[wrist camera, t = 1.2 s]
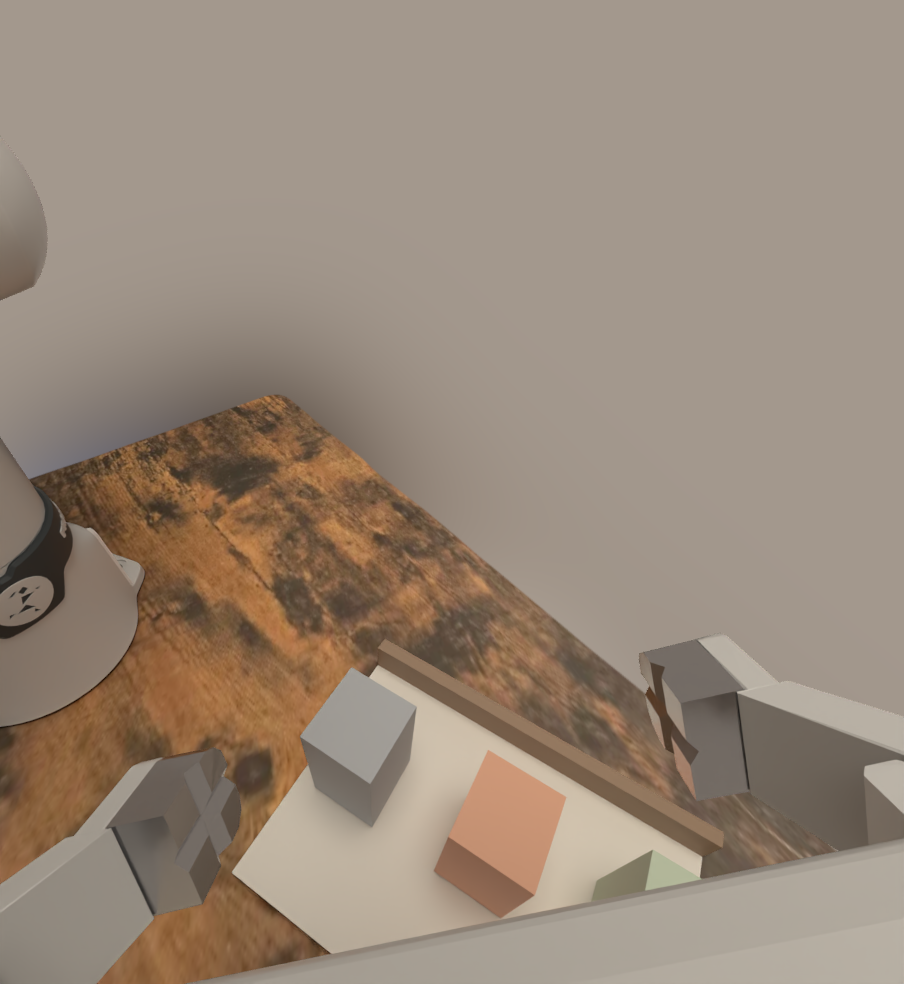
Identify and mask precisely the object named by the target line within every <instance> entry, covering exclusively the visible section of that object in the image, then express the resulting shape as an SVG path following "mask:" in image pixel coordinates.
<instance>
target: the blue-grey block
mask: <svg viewBox="0 0 904 984" xmlns="http://www.w3.org/2000/svg"><path fill="white" fill-rule="evenodd" d="M416 709H417V707H416V706H415V705H413V704H411V703H410V702H408V701H406V700H405V699H403V698H402V697H400V696H398V695H397V694H395V693H393V692H392V691H390V690H388V689H387V688H385V687H383V686H382V685H380V684H378V683H377V682H375V681H373V680H372V679H370V678H368V677H367V676H365V675H363V674H362V673H360V672H358V671H357V670H355V669H354V668H352V667H351V669H350V670H349V671H348V673H347V674H346V675H345V677H344V678H343V679H342V681H341V682H340V683H339V685H338V686H337V687H336V689H335V690H334V691H333V693H332V694H331V696H330V697H329V698H328V700H327V701H326V702H325V704H324V705H323V706H322V708H321V709H320V710H319V712H318V713H317V714H316V716H315V717H314V718H313V720H312V721H311V722H310V724H309V725H308V726H307V728H306V729H305V730H304V732H303V733H302V734H301V736H300V739H301V742H302V745H303V749H304V752H305V755H306V759H307V762H308V765H309V769H310V772H311V775H312V779H313V782H314V785H315V788H317V789H318V790H320V791H321V792H322V793H324V794H325V795H327V796H328V797H330V798H331V799H332V800H334V801H335V802H337V803H338V804H340V805H341V806H342V807H344V808H345V809H347V810H348V811H349V812H351V813H352V814H354V815H355V816H357V817H358V818H359V819H361V820H362V821H364V822H365V823H366V824H368V825H369V826H371V827H373V825H374V823H375V821H376V820H377V818H378V816H379V814H380V812H381V811H382V809H383V807H384V805H385V804H386V802H387V800H388V798H389V797H390V795H391V793H392V791H393V789H394V788H395V786H396V784H397V782H398V781H399V779H400V777H401V775H402V773H403V772H404V770H405V768H406V766H407V765H408V763H409V761H410V755H411V748H412V740H413V732H414V724H415V717H416Z"/></svg>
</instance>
